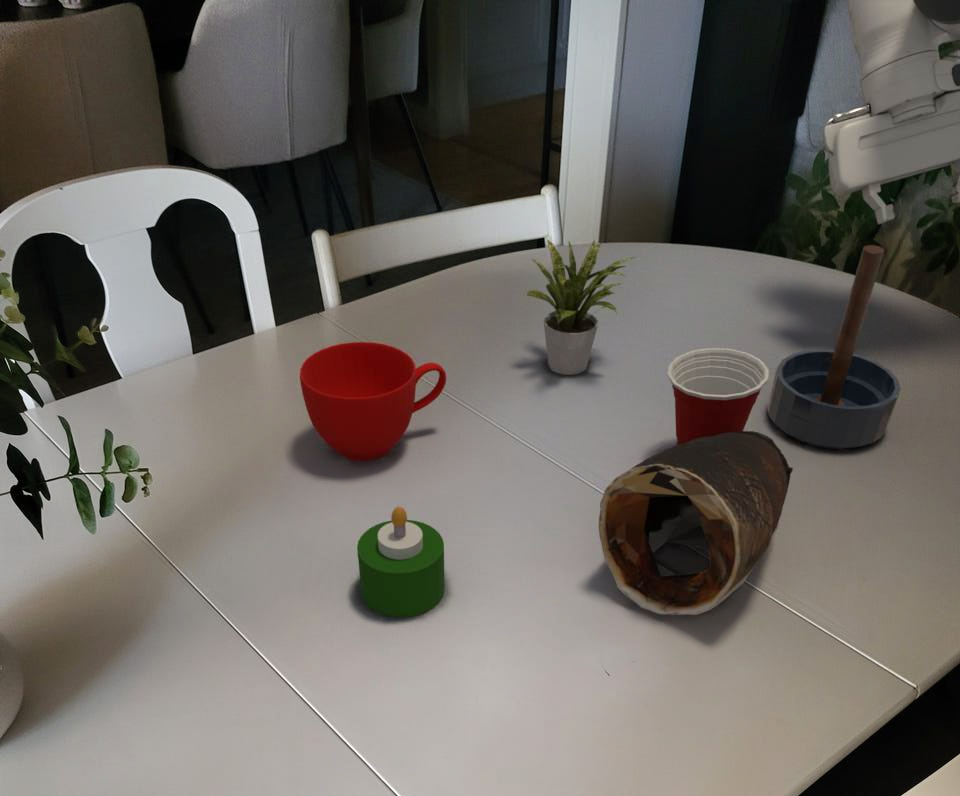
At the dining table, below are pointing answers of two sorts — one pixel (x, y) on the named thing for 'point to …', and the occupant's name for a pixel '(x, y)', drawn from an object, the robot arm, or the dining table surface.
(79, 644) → the dining table surface
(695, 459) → the brown hollow cylinder
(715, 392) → the plastic cup
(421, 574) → the candle
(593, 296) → the house plant
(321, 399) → the ceramic cup
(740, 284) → the dining table surface
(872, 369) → the bowl
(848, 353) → the stirring stick
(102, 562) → the dining table surface
